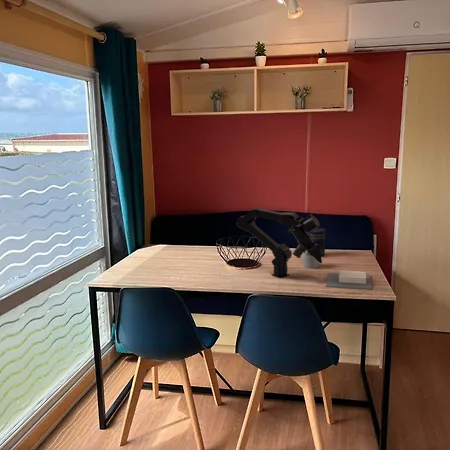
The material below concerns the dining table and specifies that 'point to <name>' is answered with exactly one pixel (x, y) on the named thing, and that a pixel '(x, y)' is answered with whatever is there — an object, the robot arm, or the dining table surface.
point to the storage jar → (318, 238)
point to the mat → (334, 282)
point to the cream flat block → (352, 277)
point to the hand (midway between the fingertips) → (321, 262)
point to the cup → (309, 261)
